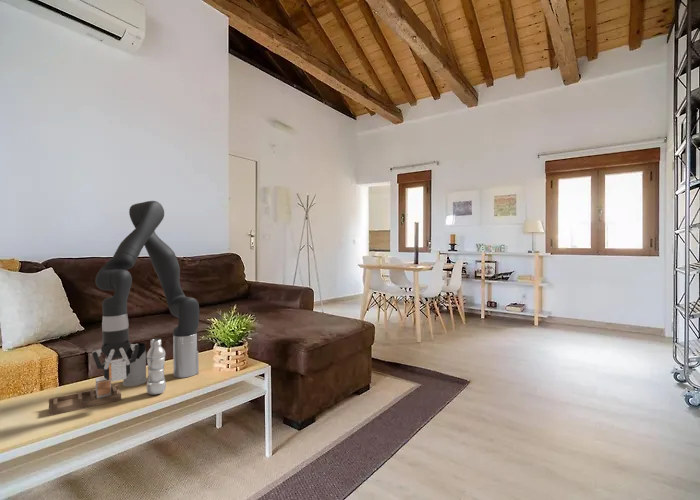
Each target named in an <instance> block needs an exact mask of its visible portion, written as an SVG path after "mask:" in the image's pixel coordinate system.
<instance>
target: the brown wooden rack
mask: <svg viewBox="0 0 700 500" xmlns="http://www.w3.org/2000/svg"><path fill="white" fill-rule="evenodd" d="M118 401H122V392H121V391H120V384H114V385H112V381H111V379H109V380H107V379H105V378H104V376H99V377H95V388H94V389H90V390H89V389H88V390H85V391H81V392H75V393H69V394H65V395H59V396H56V397H50V398H48V410H47V411H48V417H51V416H56V415H60V414H64V413H68V412H74V411H78V410H81V409H87V408H90V407H96V406H99V405H105V404H109V403H113V402H118Z"/></svg>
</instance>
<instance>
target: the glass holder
mask: <svg viewBox="0 0 700 500" xmlns="http://www.w3.org/2000/svg"><path fill="white" fill-rule="evenodd" d="M136 343H137V344H138V345H139V350H138V354H137V358H136V361H135V362H133V363H131V364H130V374H128V376H126V379H123V380H122V381H123V382H122V384H121V385H122V386H123V387H136V386H137V387H138V386H141V385H143V384H145V383H147V382H148V377H147V356H146V355H147V349H146V343H144V342H135V343H134V342H133V343H132V344H136ZM132 352H133V350H132V349H131V347H130V348H129V349H128V351H127V352H126V355H127V357H128V360H129V359H131V356H132ZM117 358H118V359H121V357H117Z"/></svg>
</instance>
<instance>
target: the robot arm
mask: <svg viewBox="0 0 700 500" xmlns="http://www.w3.org/2000/svg"><path fill="white" fill-rule="evenodd" d="M128 213H129V214H128V215H129V218H130V221H131V222H132V224H133V227H134V230H132V231H131V232H130V233H129V234H128V235H127V236H126V237H125V238H124V239H123V240H122V241H121V242H120V243H119V245H118V247H117V249H116V250H115V253H114V254H113V256H112V257H111V258H110V259H109V260H108V261H107V262H106V263H105V264H104V265H103V266H102V267H101V268H100V269H99V271H98V272H97V274H96V276H95V285H96V287H97V288H98V289H99V290H101V291H114V293H113V296H109V297H105V298H104V299H103V300H102V306H101V307H102V309H101V310H102V320H101V321H102V322H101V330H102V331H101V332H102V334H101V335H102V336H101V337H102V345H101V347H100V349H97V350H93V351H92V352H91V354H92V357H93V360H94V362H95V365H96V368H97V369H98V370H101V369H102V370H103V377H104V378H105V379H107V380H109V368H108V367H109V364H110V362H111V361H112V360H115V359H117V358H118V357H120V358H123V359H124V361H126V376H128V374H130V364H131V363H133V362H135V361H136V358H137V354H138V350H139V345H138V344H137V343H138V342H135V343H136V344H133V343H131V342H130V337H129V317H128V298H129V295H130V290H131V287H132V284H133V276H132V274H131V273H130V271H128V270H129V269H131V268H133V267H134V266H135V264H136V262H137V260H138V258H139V256H140V254H141V251H142V250H143V248H145V250H146V252H147V254H148V256H149V259H150V261H151V265H152V267H153V269H154V272H155V273H156V275H157V278H158V282H159V283H160V285H161V288H162V290H163V293H164V296H165V299H166V303H167V307H168V309H169V312H170V313H171V315H172V316H173V317H175V318H178V322H177V323H178V324H177V326H176V327H174V328H173V330H172V336H173V337H172V338H173V340H172V342H173V348H172V349H173V350H172V354H173V363H172V364H173V377H174V378H178V379H179V378H190V377H194V376H195V375H197V374H199V372H200V371H199V362H200V361H199V350H198V334H197V333H198V331H197V330H198V329H199V324H200V305H199V301H198V300H197V299H196V298H194V297H191V296H186V295H185V293H184V291H183V289H182V287H181V281H180V276H181V268H180V264H179V261H178V258H177V256H176V254H175V251H174V250H173V249H172V248H171V247H170V246H169V245H168V244H167V243H166V242H164V241H163V240H162V239H161V238H160V237H159V236H158V235H157V233H156V229H157V228H158V227H159V226H160V224H161V223H162V222H163V220H164V217H165V209H164V207H163V205H162V203H161V202H159V201H157V200H149V201H144V202H138V203H134V204H132V205H131V206H130V207H129V211H128ZM130 347H131V349H132V350H133V352H132V356H131V359H129V360H128V357H127V355H126V352H127V351H128V349H129V348H130ZM101 353H103V354H104V355H105V356H106V357H105V359H104V363H101V361H100V356H101Z"/></svg>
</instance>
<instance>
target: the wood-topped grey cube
mask: <svg viewBox="0 0 700 500" xmlns="http://www.w3.org/2000/svg"><path fill="white" fill-rule="evenodd" d="M108 368H109V379H111V383H113V382H116V381H121V380H122V381H123V380H124V379H126V361H124V359H123V357H121V358H120V359H117V358H116V359H111V362H110V364H109V367H108Z"/></svg>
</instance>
